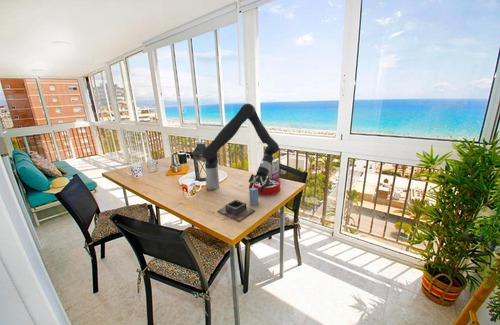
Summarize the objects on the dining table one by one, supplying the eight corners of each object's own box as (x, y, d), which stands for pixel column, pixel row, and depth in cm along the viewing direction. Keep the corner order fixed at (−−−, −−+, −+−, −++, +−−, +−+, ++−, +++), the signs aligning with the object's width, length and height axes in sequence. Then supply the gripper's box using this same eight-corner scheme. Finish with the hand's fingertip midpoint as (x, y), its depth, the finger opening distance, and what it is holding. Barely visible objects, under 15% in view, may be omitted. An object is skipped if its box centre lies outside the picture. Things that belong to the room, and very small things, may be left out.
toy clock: (255, 177, 159) (280, 178, 155) (256, 184, 160) (280, 185, 156) (251, 187, 140) (279, 188, 136) (251, 194, 141) (279, 196, 137)
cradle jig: (217, 211, 119) (216, 204, 118) (233, 203, 129) (233, 196, 128) (239, 221, 108) (238, 213, 107) (255, 211, 118) (254, 203, 117)
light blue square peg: (249, 203, 128) (249, 189, 125) (253, 201, 131) (252, 187, 128) (254, 205, 126) (254, 190, 123) (258, 202, 129) (257, 188, 126)
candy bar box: (274, 176, 174) (274, 158, 169) (279, 177, 171) (279, 159, 166) (267, 180, 166) (267, 161, 161) (272, 181, 163) (272, 162, 158)
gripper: (253, 164, 135) (243, 186, 129) (271, 167, 127) (262, 190, 121) (257, 170, 140) (248, 190, 134) (275, 173, 132) (267, 195, 126)
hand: (255, 190), depth 128 cm, fingers open, 8 cm apart
